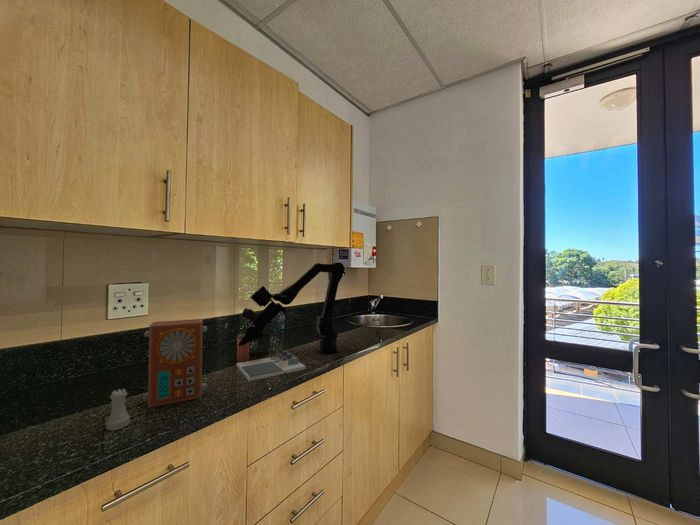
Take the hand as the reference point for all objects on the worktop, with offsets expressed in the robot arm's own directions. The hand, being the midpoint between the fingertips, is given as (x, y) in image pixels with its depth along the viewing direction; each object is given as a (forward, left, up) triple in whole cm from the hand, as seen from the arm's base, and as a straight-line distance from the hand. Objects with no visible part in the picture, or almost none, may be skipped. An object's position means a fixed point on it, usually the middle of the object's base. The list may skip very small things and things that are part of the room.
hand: (239, 343), depth 114 cm
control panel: (+23, +25, -7) cm, 35 cm away
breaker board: (-7, +15, -7) cm, 18 cm away
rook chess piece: (+35, +34, -7) cm, 49 cm away
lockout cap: (-1, 0, -7) cm, 7 cm away
